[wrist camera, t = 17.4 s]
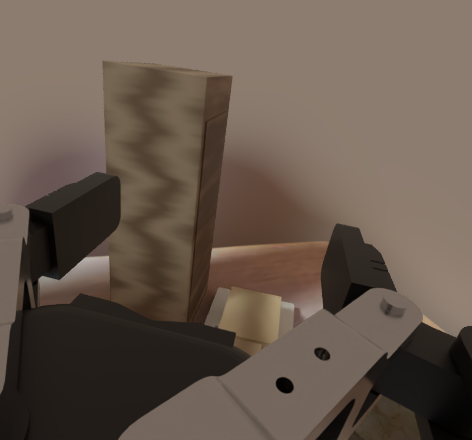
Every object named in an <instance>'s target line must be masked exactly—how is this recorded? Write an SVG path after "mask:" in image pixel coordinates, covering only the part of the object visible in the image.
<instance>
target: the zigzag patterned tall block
mask: <svg viewBox="0 0 472 440" xmlns="http://www.w3.org/2000/svg"><path fill="white" fill-rule="evenodd" d="M231 84H232V76H230V75H223V74H218V73H211V72H204V71H198V70H192V69H185V68H178V67H172V66H166V65H158V64H148V63H130V62H129V63H128V62H113V61H103V89H104V118H105V145H106V174H109V175H114V176H118V177H119V179H120V183H121V218H120V222H119V225H118V227H117V229H116V230H115V231H114V232H113V233H112V234H111V235H110V236H109V263H110V292H111V301H112V302H116V303H119V304H121V305H123V306H125V307H127V308H129V309H131V310H133V311H134V312H136V313H138V314H140V315H142V316H144V317H146V318H148V319H151V320H156V321H174V322H192V321H193V319H194V317H195V314H196V312H197V310H198V308H199V305H200V303H201V301H202V298H203V296H204V294H205V292H206V289H207V285H208V276H209V268H210V260H211V251H212V242H213V235H214V226H215V218H216V208H217V201H218V193H219V184H220V176H221V167H222V159H223V151H224V143H225V134H226V126H227V118H228V109H229V100H230V93H231Z"/></svg>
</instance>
